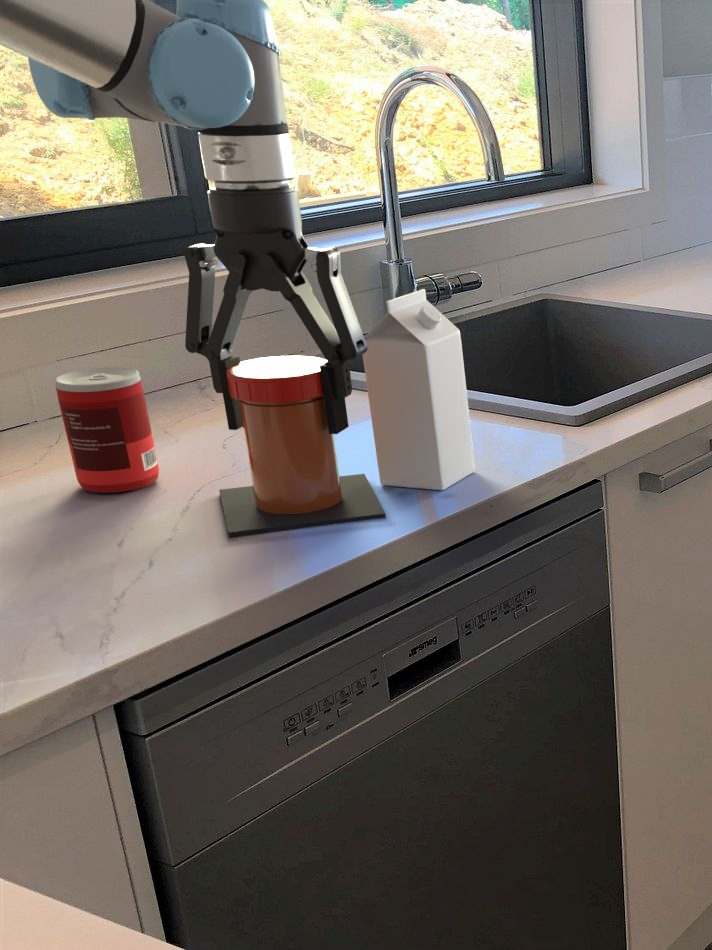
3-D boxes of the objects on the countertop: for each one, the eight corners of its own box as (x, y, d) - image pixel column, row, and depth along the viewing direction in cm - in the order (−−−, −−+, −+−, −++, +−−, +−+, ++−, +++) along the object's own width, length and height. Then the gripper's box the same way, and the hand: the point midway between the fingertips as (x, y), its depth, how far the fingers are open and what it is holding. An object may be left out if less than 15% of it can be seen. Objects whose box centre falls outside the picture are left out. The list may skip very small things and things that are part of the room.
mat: (228, 537, 128) (227, 532, 128) (219, 494, 140) (219, 489, 139) (386, 518, 134) (385, 513, 134) (365, 478, 145) (364, 473, 145)
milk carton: (380, 486, 143) (354, 299, 135) (415, 467, 149) (392, 287, 141) (442, 492, 141) (420, 303, 134) (476, 472, 148) (456, 290, 140)
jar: (259, 518, 132) (237, 388, 127) (252, 494, 138) (232, 369, 133) (347, 508, 135) (330, 380, 130) (337, 484, 141) (320, 362, 136)
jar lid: (259, 377, 137) (255, 354, 136) (351, 381, 136) (348, 357, 135) (210, 400, 128) (205, 375, 127) (308, 404, 127) (304, 380, 126)
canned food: (148, 466, 148) (127, 363, 143) (171, 484, 142) (149, 377, 138) (69, 479, 143) (44, 374, 139) (89, 498, 138) (64, 389, 133)
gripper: (110, 184, 122) (158, 434, 131) (352, 191, 120) (384, 443, 129) (157, 176, 129) (199, 413, 138) (387, 182, 127) (414, 422, 136)
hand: (289, 428), depth 134 cm, fingers closed on jar lid, 9 cm apart
